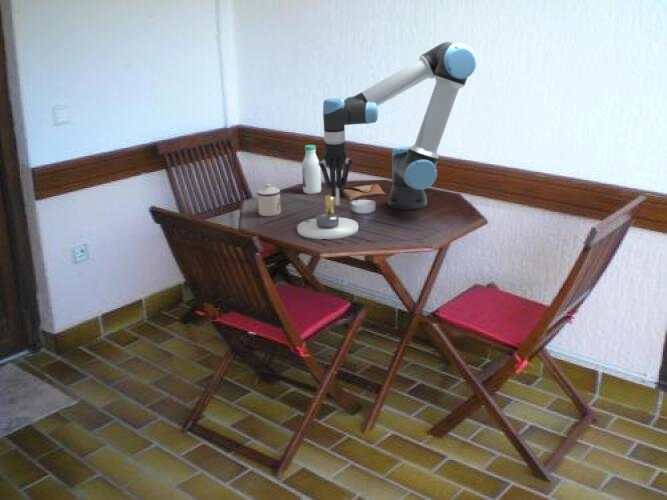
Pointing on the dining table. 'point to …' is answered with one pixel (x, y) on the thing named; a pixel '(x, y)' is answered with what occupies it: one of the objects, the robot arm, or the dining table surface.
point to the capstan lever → (328, 215)
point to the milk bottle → (311, 171)
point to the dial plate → (327, 229)
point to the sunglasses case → (362, 191)
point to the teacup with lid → (269, 201)
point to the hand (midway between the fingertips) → (336, 204)
